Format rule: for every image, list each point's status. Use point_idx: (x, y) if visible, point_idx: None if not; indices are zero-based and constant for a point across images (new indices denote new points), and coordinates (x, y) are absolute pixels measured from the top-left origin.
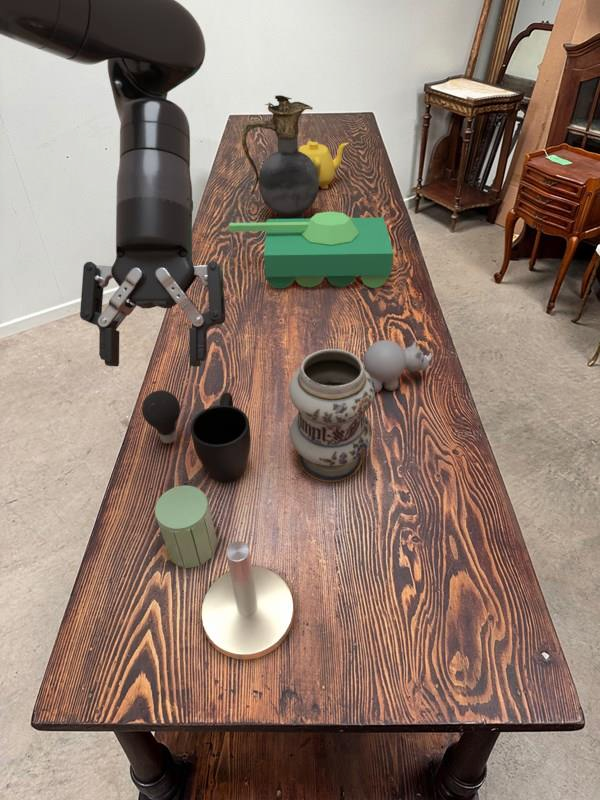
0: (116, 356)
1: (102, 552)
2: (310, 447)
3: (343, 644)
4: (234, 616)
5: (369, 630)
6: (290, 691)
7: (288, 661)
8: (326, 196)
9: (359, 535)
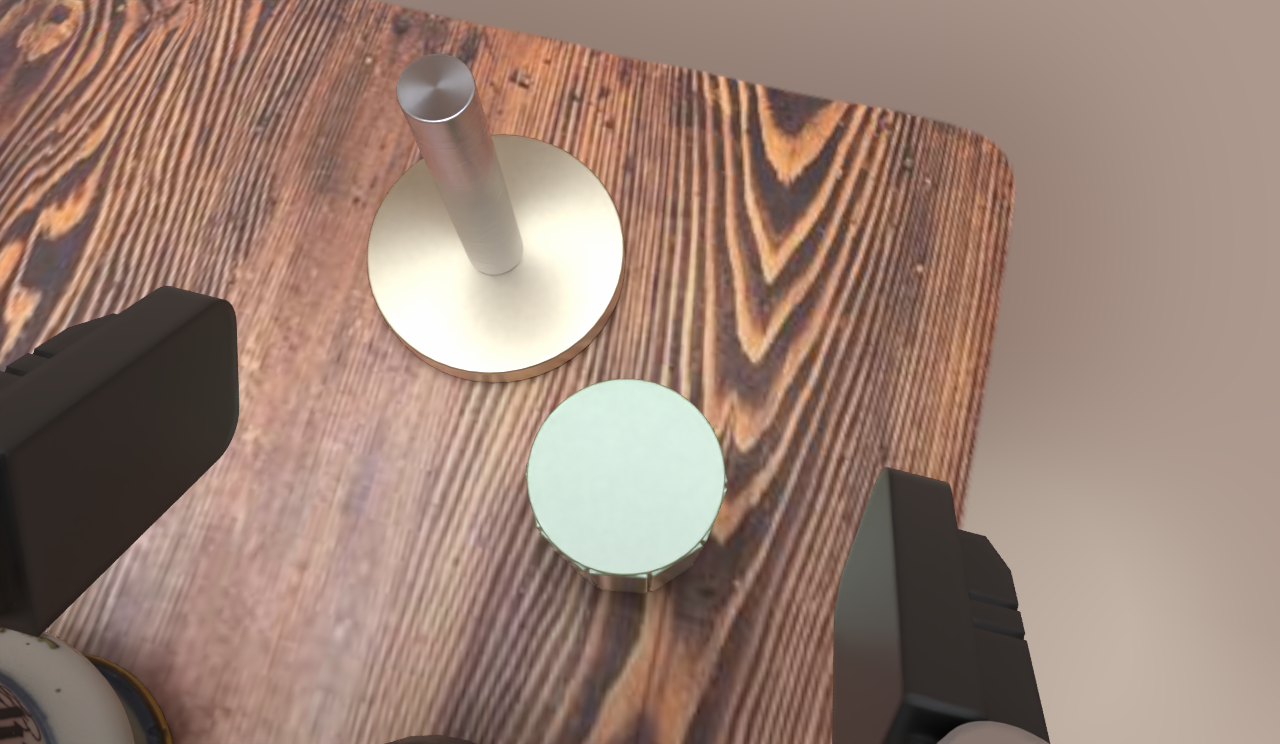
0: (852, 601)
1: None
2: (60, 696)
3: (286, 133)
4: (535, 234)
5: (209, 150)
6: None
7: None
8: None
9: None
